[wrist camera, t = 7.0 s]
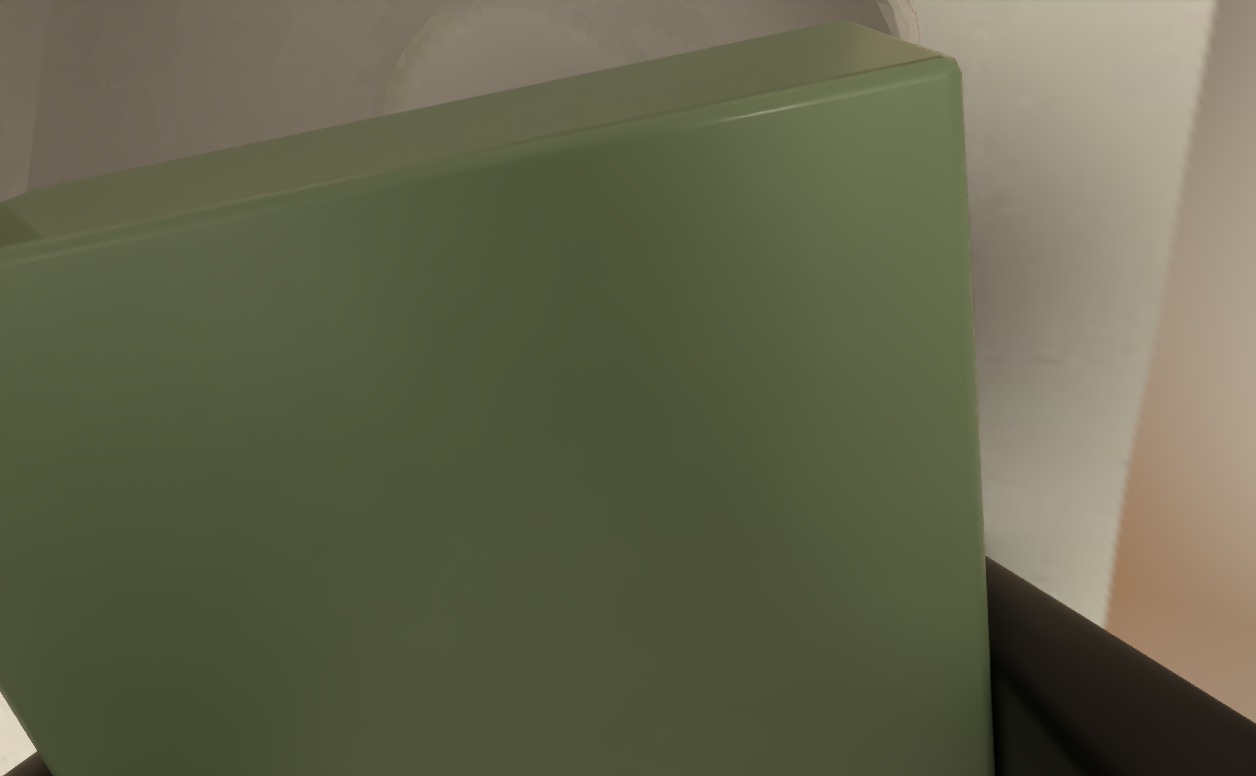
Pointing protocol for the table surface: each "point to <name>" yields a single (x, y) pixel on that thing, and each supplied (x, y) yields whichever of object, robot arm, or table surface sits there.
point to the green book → (512, 436)
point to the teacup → (320, 64)
